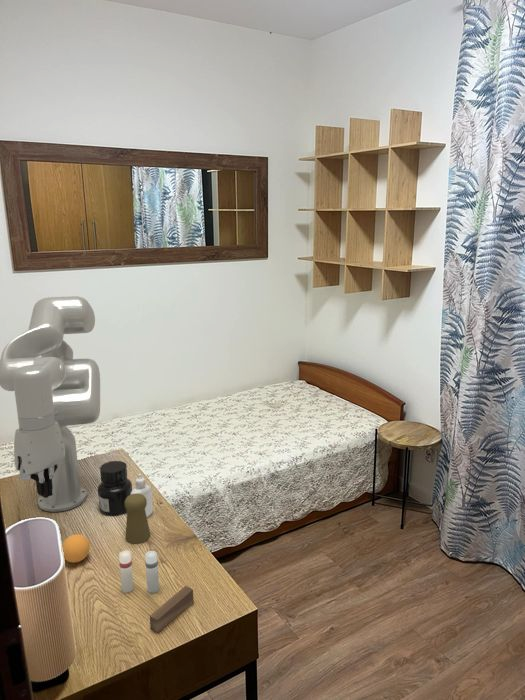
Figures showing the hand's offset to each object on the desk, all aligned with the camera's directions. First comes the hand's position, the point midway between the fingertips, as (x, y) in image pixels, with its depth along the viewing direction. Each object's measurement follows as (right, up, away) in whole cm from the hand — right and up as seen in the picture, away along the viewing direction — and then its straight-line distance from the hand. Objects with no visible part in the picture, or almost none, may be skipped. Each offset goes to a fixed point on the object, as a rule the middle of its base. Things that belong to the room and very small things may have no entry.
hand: (45, 494), depth 121 cm
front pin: (+22, -17, -11) cm, 30 cm away
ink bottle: (+11, -9, +20) cm, 25 cm away
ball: (+8, -12, -2) cm, 14 cm away
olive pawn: (+20, -12, +7) cm, 24 cm away
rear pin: (+27, -17, -11) cm, 34 cm away
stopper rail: (+32, -19, -18) cm, 42 cm away
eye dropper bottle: (+19, -10, +16) cm, 27 cm away
